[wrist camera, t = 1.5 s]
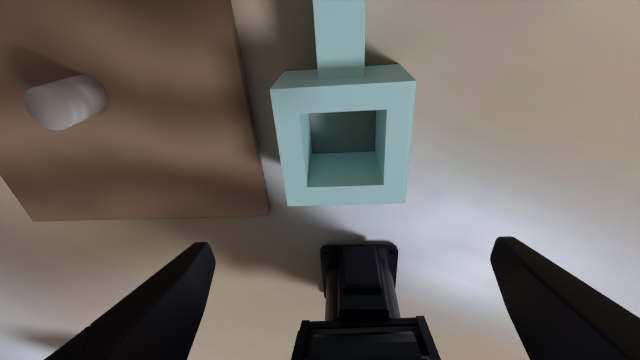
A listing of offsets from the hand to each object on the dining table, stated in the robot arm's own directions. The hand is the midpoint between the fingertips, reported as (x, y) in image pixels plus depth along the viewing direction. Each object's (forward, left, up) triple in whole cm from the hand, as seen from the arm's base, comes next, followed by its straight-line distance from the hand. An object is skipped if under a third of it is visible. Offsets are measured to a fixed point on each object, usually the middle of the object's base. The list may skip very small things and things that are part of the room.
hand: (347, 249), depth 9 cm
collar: (+3, 0, -12) cm, 12 cm away
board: (+3, +16, -12) cm, 20 cm away
